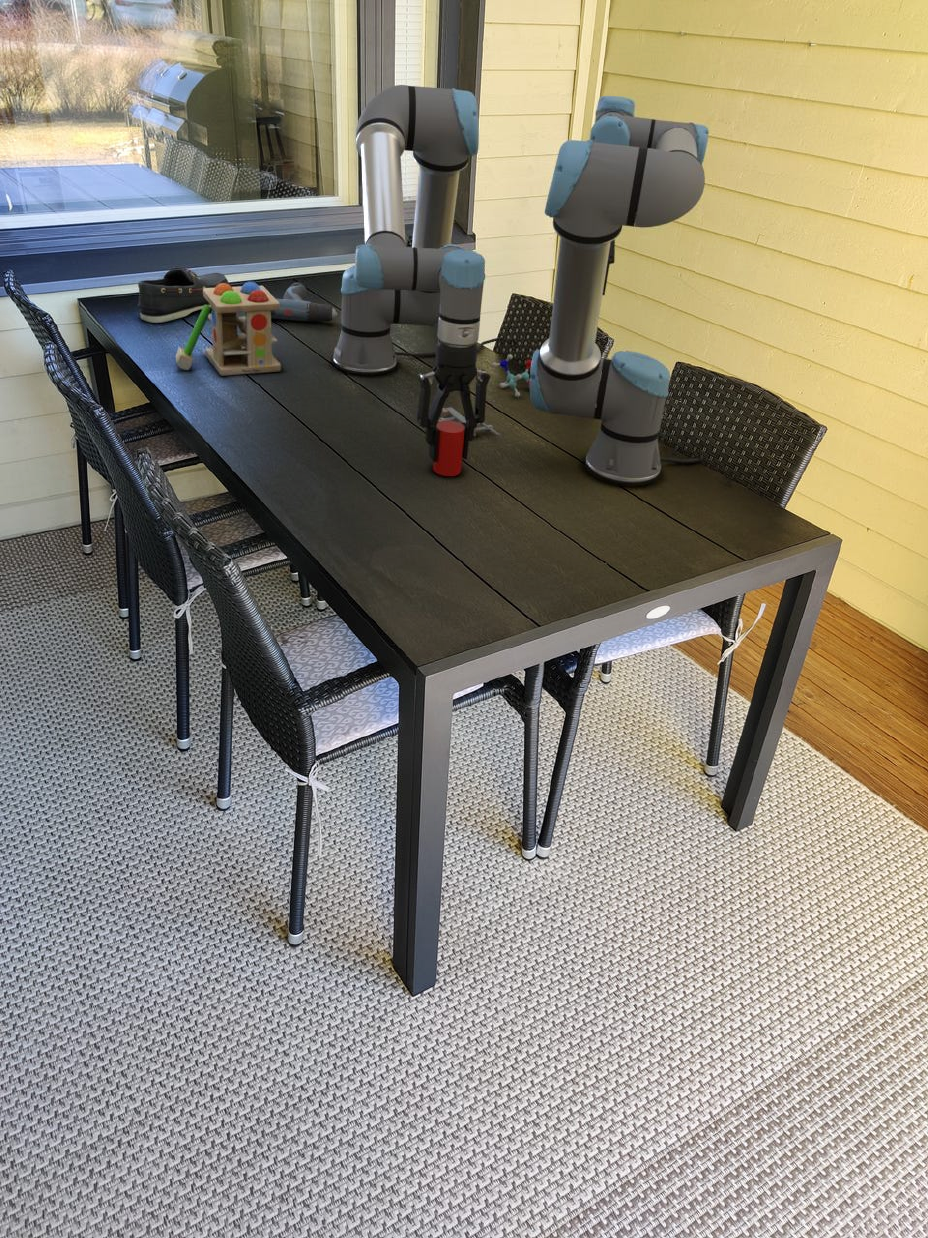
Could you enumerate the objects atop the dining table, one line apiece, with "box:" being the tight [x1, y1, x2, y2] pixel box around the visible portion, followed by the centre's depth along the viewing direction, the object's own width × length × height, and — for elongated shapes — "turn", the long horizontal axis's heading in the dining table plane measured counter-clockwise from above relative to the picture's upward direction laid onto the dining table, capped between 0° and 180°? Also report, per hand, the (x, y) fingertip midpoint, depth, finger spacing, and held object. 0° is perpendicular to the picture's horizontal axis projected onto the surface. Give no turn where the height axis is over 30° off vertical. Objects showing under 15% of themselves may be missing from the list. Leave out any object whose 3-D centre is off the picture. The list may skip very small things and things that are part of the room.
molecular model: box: [491, 353, 532, 398], centre depth 230 cm, size 12×10×10 cm
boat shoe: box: [137, 266, 230, 324], centre depth 260 cm, size 13×33×10 cm, turn 147°
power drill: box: [271, 282, 338, 322], centre depth 265 cm, size 5×19×20 cm
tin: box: [432, 421, 465, 477], centre depth 191 cm, size 6×6×9 cm
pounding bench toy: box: [174, 281, 282, 377], centre depth 225 cm, size 23×14×18 cm, turn 116°
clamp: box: [437, 407, 502, 438], centre depth 210 cm, size 15×2×10 cm
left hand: (448, 456), depth 192 cm, fingers closed on tin, 5 cm apart
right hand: (588, 285), depth 214 cm, fingers open, 13 cm apart
